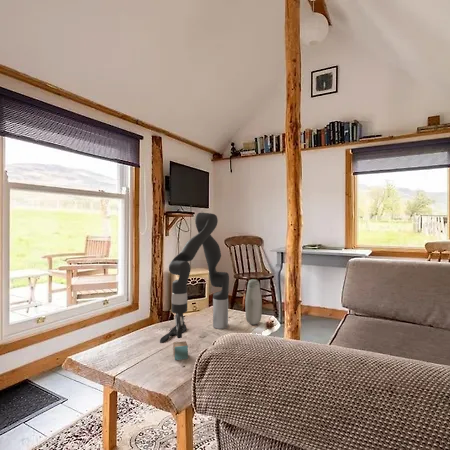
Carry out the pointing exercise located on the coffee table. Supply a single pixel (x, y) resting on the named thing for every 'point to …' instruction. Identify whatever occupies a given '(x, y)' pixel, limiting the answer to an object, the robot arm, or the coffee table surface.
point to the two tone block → (180, 350)
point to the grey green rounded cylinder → (253, 302)
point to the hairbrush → (172, 332)
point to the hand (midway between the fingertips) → (179, 337)
